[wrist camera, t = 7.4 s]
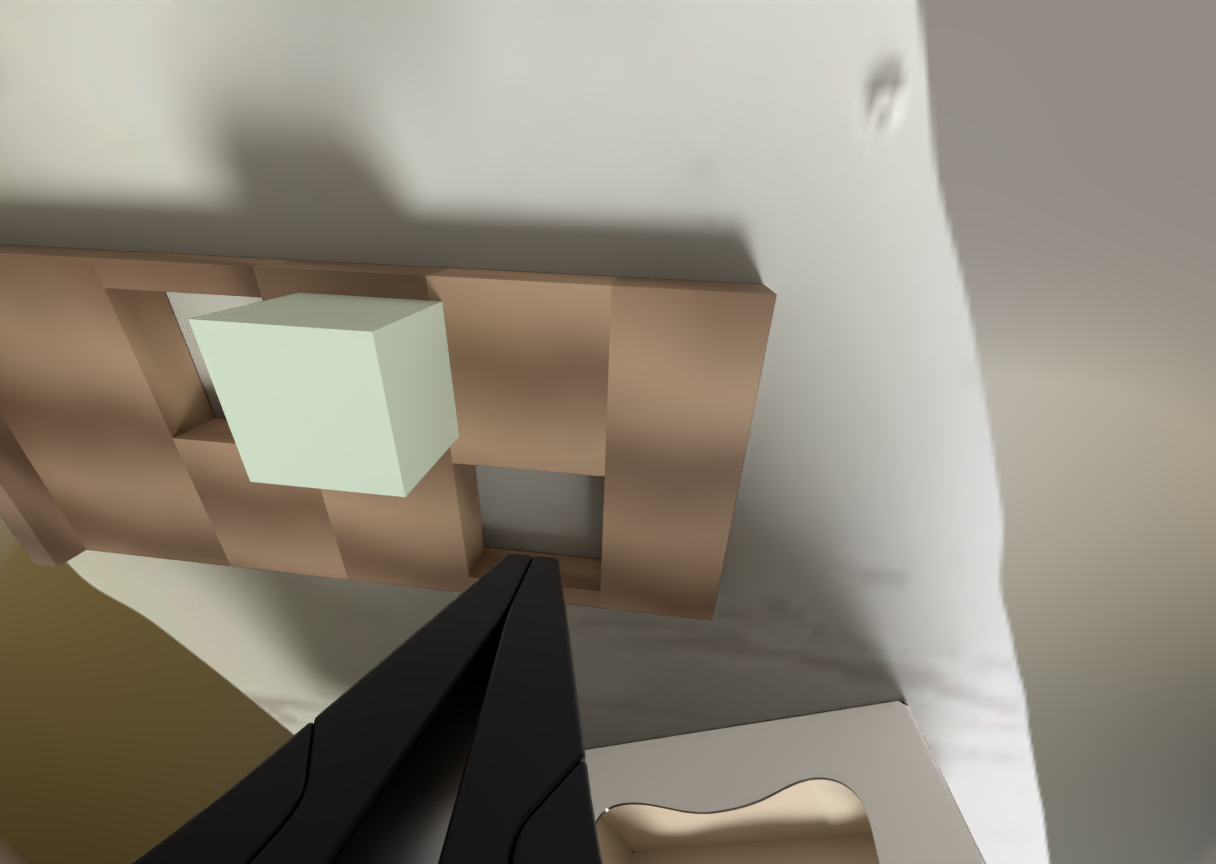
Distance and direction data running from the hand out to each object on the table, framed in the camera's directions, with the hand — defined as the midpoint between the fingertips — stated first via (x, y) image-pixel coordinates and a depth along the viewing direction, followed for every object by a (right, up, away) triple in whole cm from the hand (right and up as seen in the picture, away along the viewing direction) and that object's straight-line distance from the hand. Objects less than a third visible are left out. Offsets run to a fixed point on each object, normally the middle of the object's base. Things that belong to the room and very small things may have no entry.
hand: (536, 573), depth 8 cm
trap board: (-10, +2, +12) cm, 16 cm away
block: (-7, +5, +9) cm, 12 cm away
